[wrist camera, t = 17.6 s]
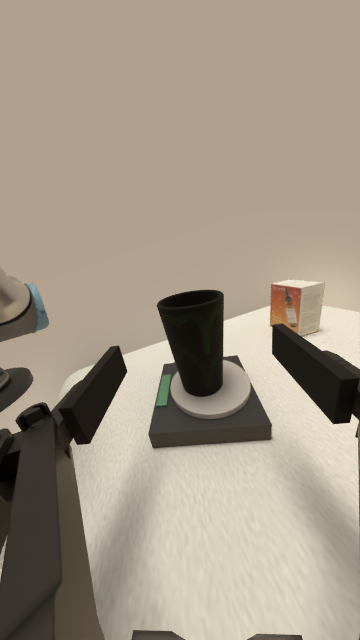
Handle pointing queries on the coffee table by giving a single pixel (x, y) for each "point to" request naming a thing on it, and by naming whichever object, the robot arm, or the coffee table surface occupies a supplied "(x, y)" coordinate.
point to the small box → (297, 305)
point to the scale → (208, 411)
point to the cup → (196, 338)
